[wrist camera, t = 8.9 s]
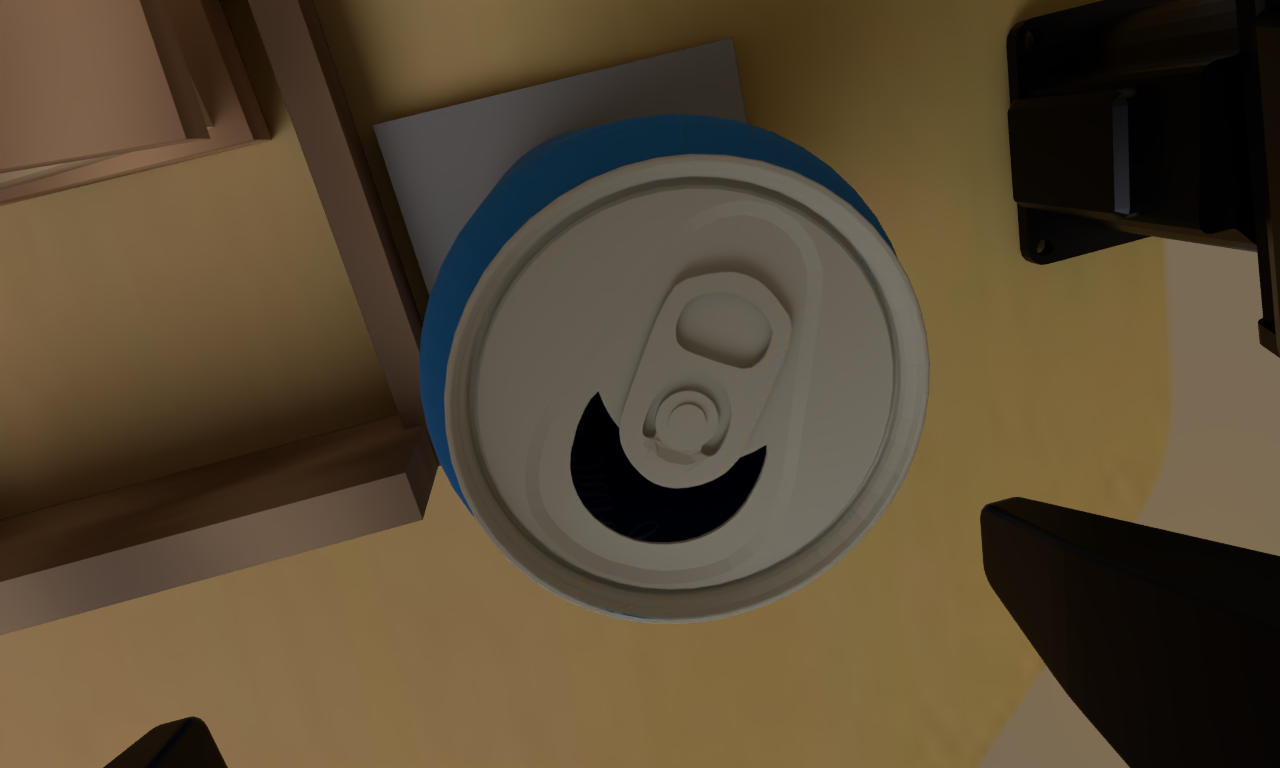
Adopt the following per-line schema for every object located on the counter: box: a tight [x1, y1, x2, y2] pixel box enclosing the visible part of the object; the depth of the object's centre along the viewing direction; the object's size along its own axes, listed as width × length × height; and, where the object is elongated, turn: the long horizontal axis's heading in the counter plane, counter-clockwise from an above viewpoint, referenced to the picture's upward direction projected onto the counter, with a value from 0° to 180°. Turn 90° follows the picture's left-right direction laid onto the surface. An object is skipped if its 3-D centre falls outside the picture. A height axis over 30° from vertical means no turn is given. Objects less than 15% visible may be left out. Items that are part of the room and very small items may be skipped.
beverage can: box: [419, 114, 930, 624], centre depth 14 cm, size 6×6×12 cm
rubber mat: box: [373, 38, 747, 296], centre depth 20 cm, size 9×9×1 cm
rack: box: [0, 0, 441, 635], centre depth 17 cm, size 14×14×4 cm
